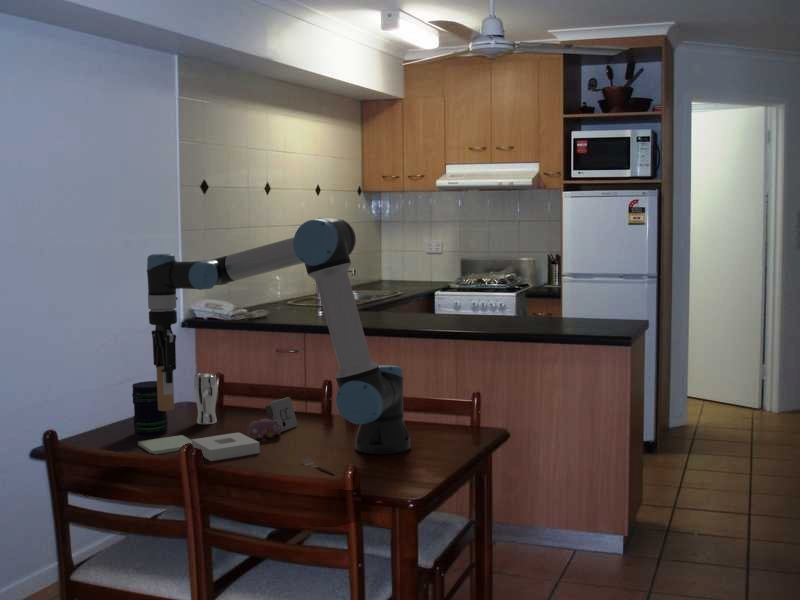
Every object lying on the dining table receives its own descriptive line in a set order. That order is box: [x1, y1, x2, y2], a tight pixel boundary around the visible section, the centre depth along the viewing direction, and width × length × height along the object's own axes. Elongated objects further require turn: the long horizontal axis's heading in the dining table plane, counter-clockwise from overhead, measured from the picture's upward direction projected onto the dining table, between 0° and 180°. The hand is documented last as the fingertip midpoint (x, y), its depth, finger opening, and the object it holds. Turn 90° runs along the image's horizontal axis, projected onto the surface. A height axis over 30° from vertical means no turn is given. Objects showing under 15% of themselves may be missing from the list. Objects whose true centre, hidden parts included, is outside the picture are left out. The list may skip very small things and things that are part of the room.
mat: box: [137, 434, 192, 455], centre depth 263 cm, size 13×13×1 cm
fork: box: [300, 455, 336, 476], centre depth 238 cm, size 3×16×2 cm, turn 34°
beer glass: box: [193, 372, 218, 425], centre depth 291 cm, size 7×7×15 cm
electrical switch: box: [264, 396, 298, 433], centre depth 282 cm, size 9×5×9 cm, turn 152°
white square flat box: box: [191, 432, 261, 462], centre depth 256 cm, size 14×14×3 cm
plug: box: [155, 366, 175, 412], centre depth 261 cm, size 4×4×12 cm
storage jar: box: [131, 380, 169, 439], centre depth 278 cm, size 10×10×15 cm
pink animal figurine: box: [246, 418, 282, 440], centre depth 271 cm, size 10×5×7 cm, turn 107°
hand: (165, 392), depth 261 cm, fingers closed on plug, 4 cm apart
